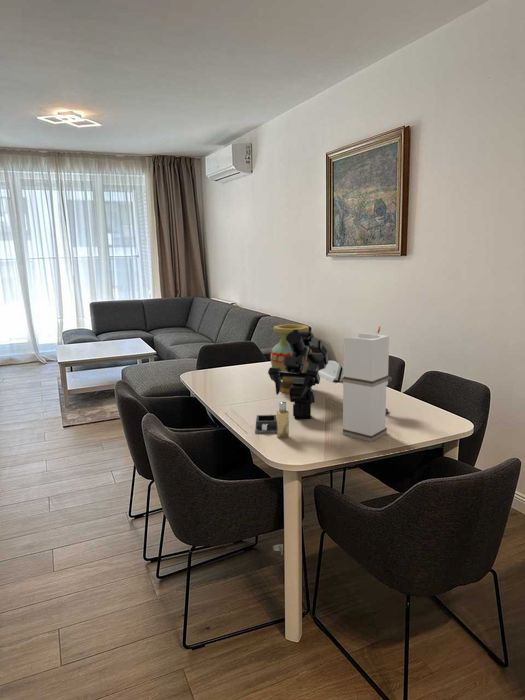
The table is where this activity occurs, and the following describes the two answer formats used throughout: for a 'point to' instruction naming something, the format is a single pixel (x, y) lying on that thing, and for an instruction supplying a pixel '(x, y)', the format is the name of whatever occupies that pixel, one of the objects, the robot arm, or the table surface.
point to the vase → (285, 353)
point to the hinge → (332, 371)
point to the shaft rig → (266, 424)
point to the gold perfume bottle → (282, 421)
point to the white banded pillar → (365, 386)
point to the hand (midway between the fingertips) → (289, 395)
